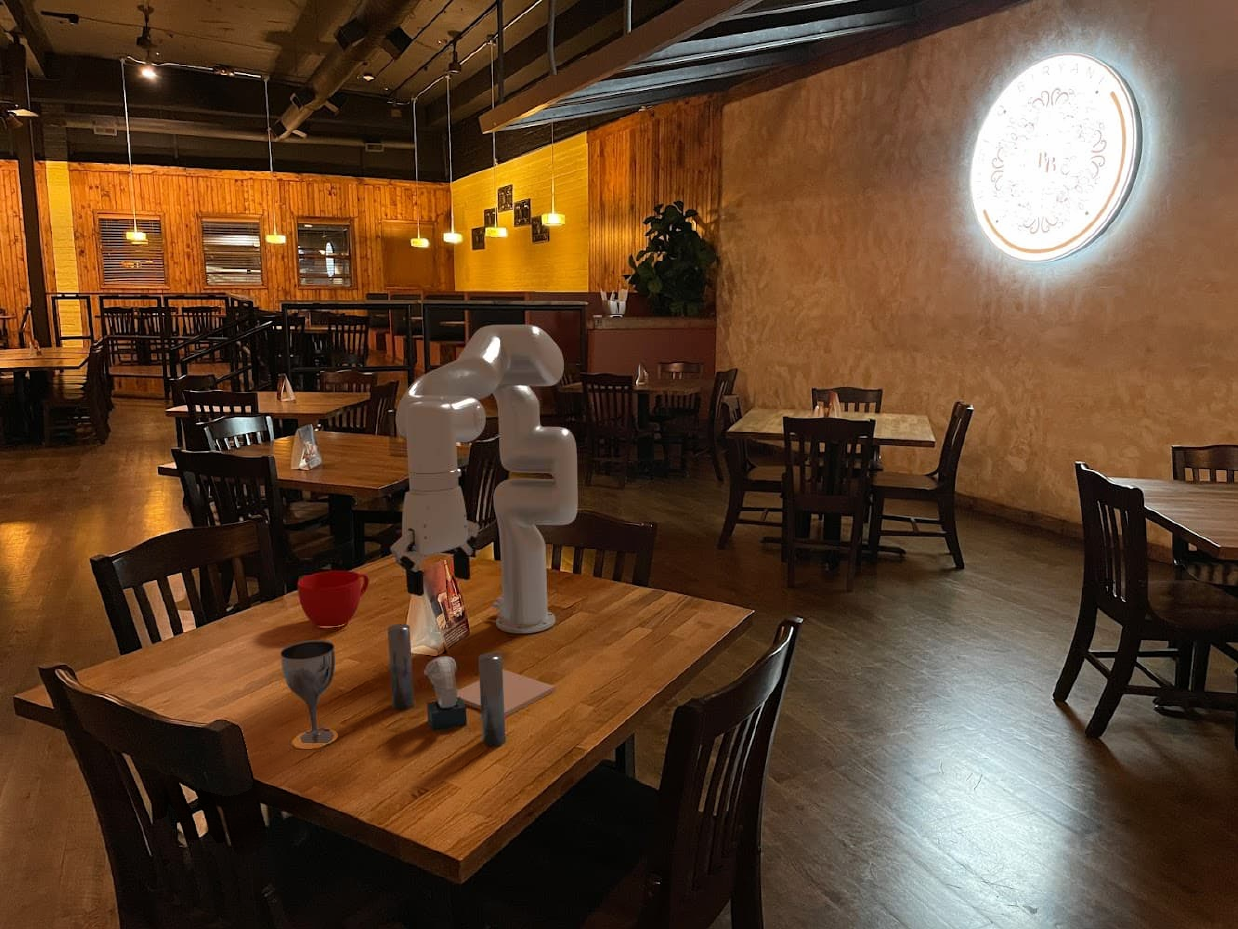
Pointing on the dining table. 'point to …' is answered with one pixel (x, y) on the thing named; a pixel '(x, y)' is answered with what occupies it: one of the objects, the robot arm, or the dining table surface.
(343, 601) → the ceramic cup
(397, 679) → the metal post
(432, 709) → the watch
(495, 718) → the metal post
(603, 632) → the dining table surface
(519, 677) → the terracotta tile
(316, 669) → the wine glass
